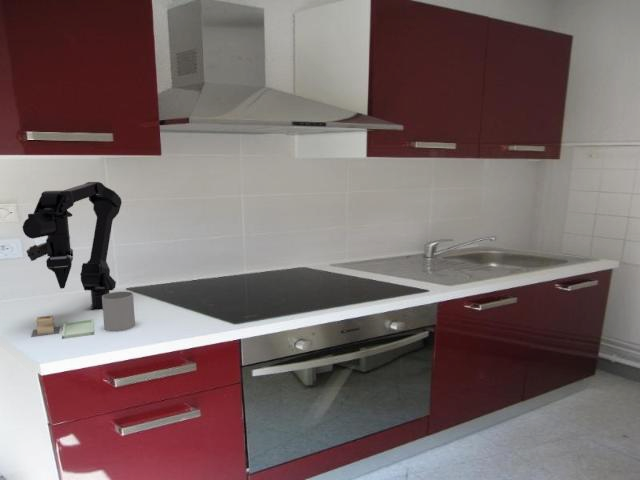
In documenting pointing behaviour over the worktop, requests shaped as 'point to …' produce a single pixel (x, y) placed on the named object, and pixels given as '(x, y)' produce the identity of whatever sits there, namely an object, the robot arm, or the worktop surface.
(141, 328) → the worktop surface
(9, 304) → the worktop surface
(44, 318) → the letter cube
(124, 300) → the cup
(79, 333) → the tray
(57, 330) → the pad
